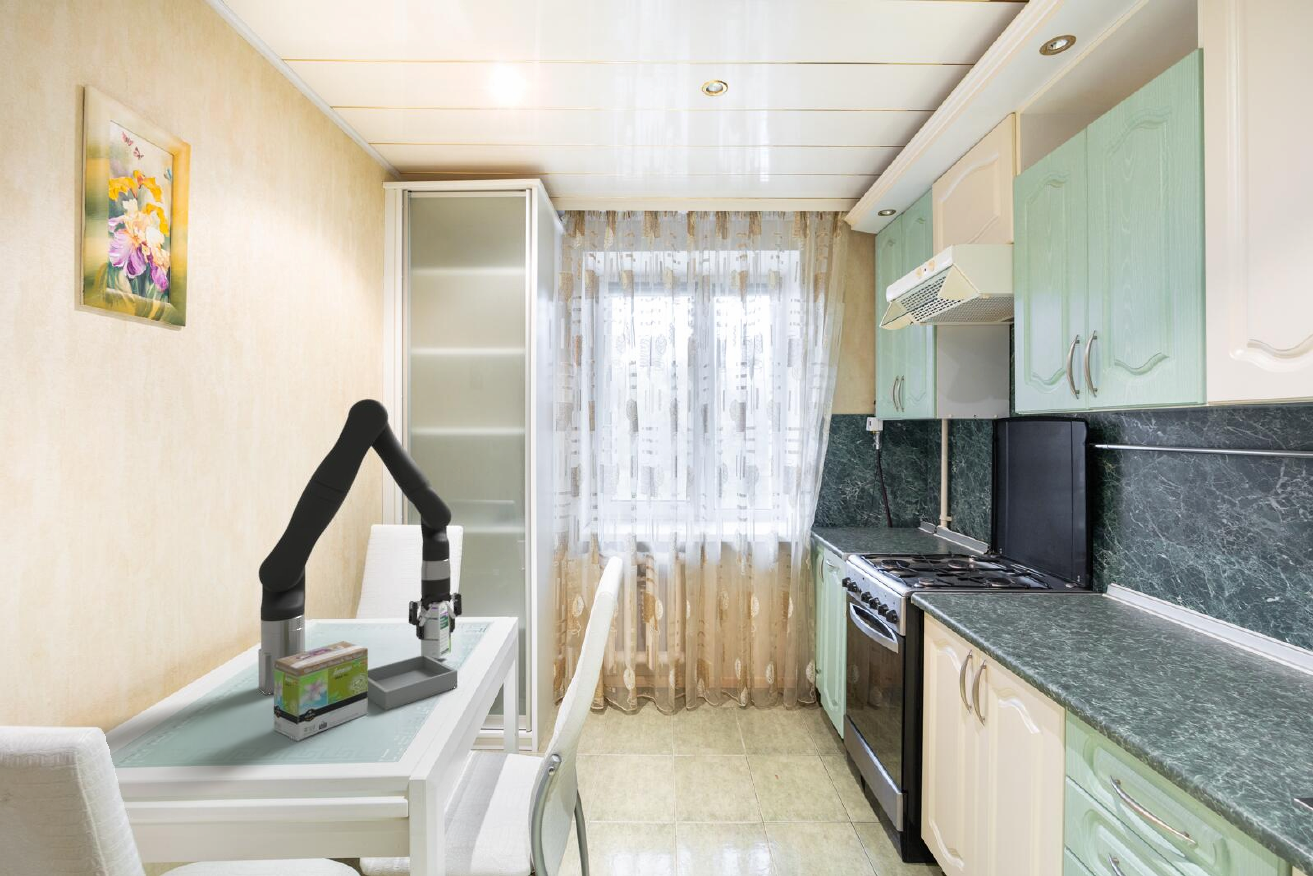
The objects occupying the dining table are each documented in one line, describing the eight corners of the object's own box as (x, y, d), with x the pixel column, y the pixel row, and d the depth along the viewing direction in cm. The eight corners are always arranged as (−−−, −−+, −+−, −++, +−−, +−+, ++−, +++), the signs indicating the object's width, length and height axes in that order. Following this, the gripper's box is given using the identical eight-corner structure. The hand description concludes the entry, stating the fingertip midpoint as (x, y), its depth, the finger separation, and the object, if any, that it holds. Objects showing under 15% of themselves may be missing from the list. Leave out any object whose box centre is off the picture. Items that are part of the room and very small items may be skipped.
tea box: (298, 743, 120) (298, 668, 120) (272, 731, 126) (272, 659, 126) (369, 714, 133) (368, 646, 133) (343, 704, 138) (342, 639, 138)
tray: (386, 710, 134) (385, 692, 134) (356, 689, 146) (356, 673, 146) (457, 687, 147) (457, 670, 147) (425, 669, 158) (425, 654, 158)
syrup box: (440, 659, 162) (440, 604, 162) (420, 657, 163) (420, 603, 163) (451, 652, 168) (451, 599, 168) (431, 650, 169) (432, 598, 169)
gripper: (453, 570, 173) (453, 627, 173) (404, 578, 163) (403, 638, 163) (466, 573, 168) (466, 632, 168) (416, 582, 158) (416, 645, 158)
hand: (435, 635), depth 165 cm, fingers closed on syrup box, 8 cm apart
